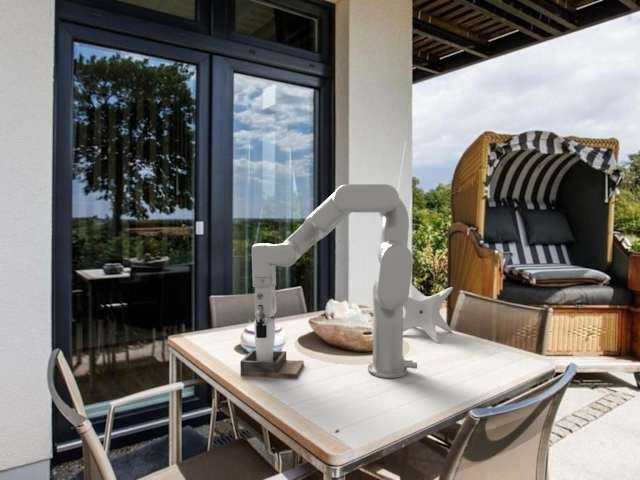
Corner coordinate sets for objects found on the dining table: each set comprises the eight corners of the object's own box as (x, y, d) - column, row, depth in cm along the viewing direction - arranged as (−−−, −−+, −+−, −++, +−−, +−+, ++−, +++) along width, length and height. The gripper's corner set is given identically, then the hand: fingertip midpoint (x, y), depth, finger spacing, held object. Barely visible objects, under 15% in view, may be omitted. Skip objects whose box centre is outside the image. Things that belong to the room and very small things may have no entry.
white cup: (271, 369, 136) (271, 323, 135) (251, 368, 137) (251, 322, 136) (277, 362, 142) (277, 318, 141) (258, 360, 143) (258, 317, 143)
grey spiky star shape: (452, 332, 186) (453, 287, 185) (438, 343, 169) (439, 294, 168) (408, 326, 196) (408, 283, 195) (391, 336, 179) (392, 289, 178)
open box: (303, 365, 144) (303, 352, 143) (296, 378, 132) (296, 364, 131) (252, 362, 146) (252, 349, 146) (240, 375, 134) (240, 361, 134)
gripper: (268, 285, 129) (269, 341, 130) (281, 277, 146) (283, 326, 147) (244, 285, 130) (246, 341, 131) (260, 277, 147) (262, 326, 148)
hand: (265, 333), depth 139 cm, fingers open, 9 cm apart
